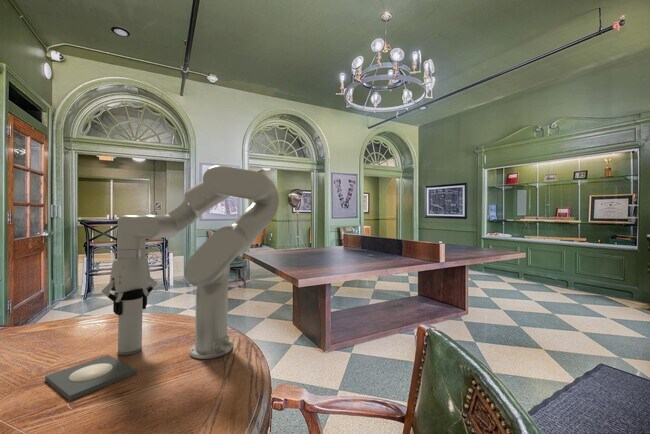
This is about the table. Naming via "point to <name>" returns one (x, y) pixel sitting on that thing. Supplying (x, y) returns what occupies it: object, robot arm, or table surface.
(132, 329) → the travel mug
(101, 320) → the table surface
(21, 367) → the table surface
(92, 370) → the mat
